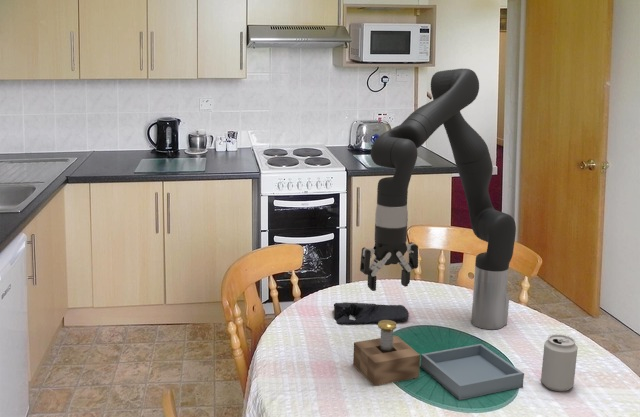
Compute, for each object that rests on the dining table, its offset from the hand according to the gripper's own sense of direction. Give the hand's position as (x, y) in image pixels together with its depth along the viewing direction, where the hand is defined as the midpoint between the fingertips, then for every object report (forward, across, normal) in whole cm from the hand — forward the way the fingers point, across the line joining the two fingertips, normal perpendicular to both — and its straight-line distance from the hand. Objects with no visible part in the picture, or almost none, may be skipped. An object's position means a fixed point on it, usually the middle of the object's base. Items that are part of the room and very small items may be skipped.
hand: (388, 287), depth 174 cm
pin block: (+22, 0, 0) cm, 22 cm away
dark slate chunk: (+22, -12, -33) cm, 42 cm away
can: (+22, -35, +21) cm, 46 cm away
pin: (+22, 0, 0) cm, 22 cm away
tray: (+22, -18, +10) cm, 30 cm away
